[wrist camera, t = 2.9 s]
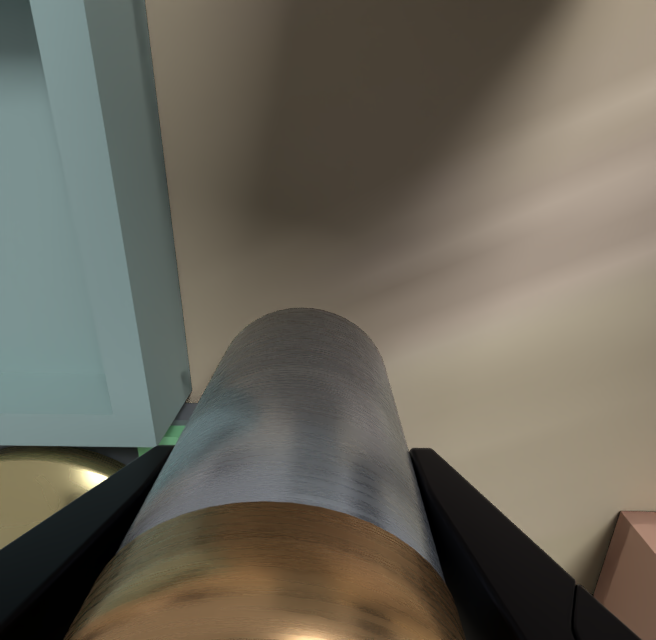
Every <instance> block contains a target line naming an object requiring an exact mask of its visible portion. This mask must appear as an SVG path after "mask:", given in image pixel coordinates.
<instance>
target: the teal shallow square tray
mask: <svg viewBox="0 0 656 640" xmlns="http://www.w3.org/2000/svg"><path fill="white" fill-rule="evenodd" d="M191 391H192V386H191V377H190V369H189V361H188V353H187V345H186V336H185V328H184V320H183V312H182V303H181V295H180V287H179V279H178V271H177V262H176V254H175V246H174V238H173V229H172V221H171V213H170V205H169V197H168V188H167V180H166V172H165V164H164V156H163V147H162V139H161V131H160V123H159V114H158V106H157V98H156V90H155V82H154V73H153V65H152V57H151V49H150V41H149V32H148V24H147V16H146V8H145V0H0V445H15V446H89V447H155V446H157V445H159V443H160V442H161V440H162V438H163V437H164V435H165V433H166V432H167V430H168V429H169V427H170V425H171V424H172V422H173V420H174V419H175V417H176V415H177V414H178V412H179V411H180V409H181V407H182V406H183V404H184V402H185V401H186V399H187V398H188V396H189V394H190V393H191Z"/></svg>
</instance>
